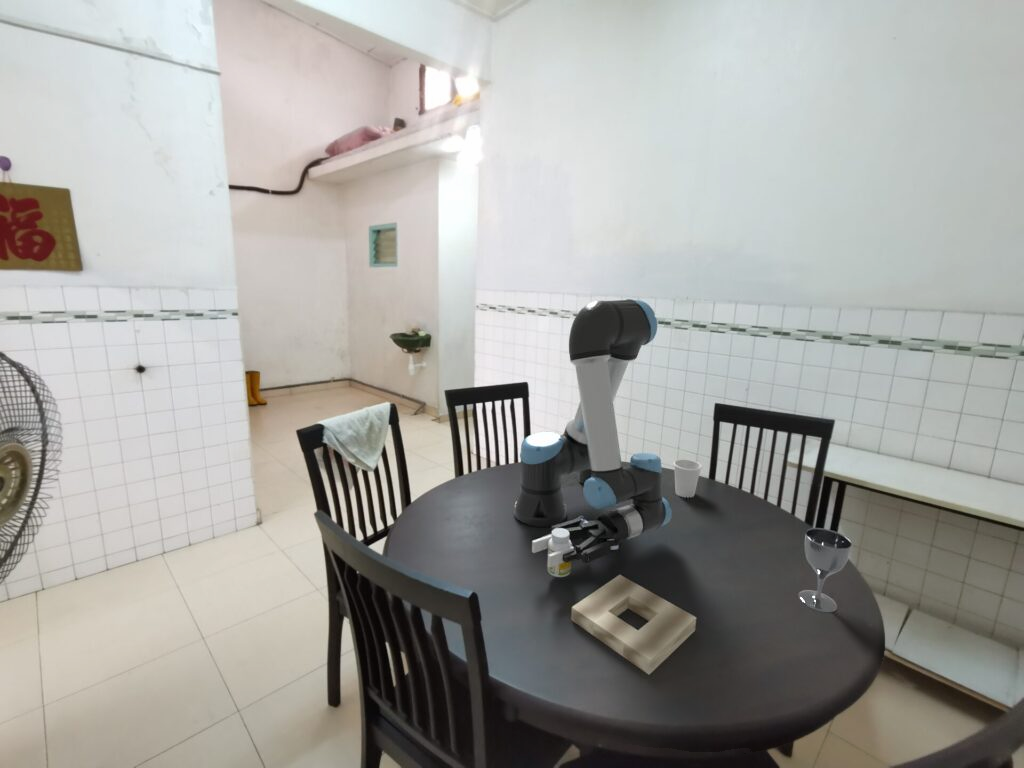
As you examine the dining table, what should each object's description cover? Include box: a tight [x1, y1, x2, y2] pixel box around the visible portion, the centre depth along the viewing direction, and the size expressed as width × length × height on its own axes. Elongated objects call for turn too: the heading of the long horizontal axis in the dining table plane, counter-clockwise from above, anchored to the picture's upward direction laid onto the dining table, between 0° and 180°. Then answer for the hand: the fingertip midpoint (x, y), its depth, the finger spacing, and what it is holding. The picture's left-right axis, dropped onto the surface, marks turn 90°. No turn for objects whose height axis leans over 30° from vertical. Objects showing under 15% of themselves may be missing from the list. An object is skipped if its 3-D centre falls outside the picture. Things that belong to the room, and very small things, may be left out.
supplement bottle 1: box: [546, 528, 573, 578], centre depth 107 cm, size 5×5×10 cm
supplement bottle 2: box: [578, 469, 592, 485], centre depth 159 cm, size 7×7×12 cm
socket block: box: [570, 574, 697, 675], centre depth 94 cm, size 18×16×3 cm
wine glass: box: [797, 527, 852, 613], centre depth 100 cm, size 8×8×15 cm
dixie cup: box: [673, 458, 703, 499], centre depth 151 cm, size 8×8×10 cm
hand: (541, 553), depth 105 cm, fingers closed on supplement bottle 1, 5 cm apart
